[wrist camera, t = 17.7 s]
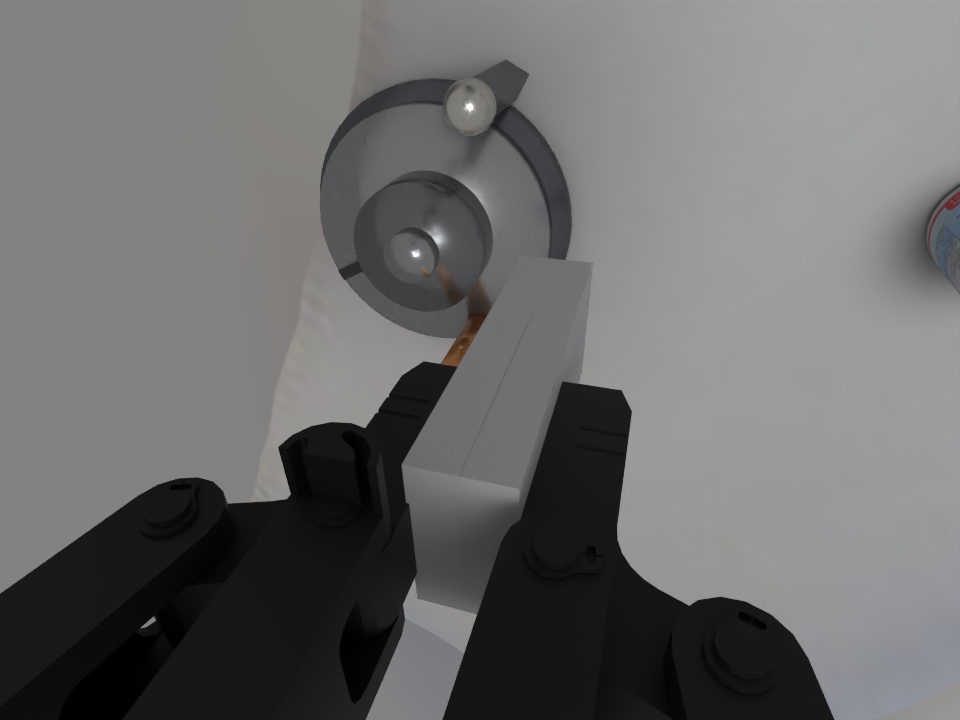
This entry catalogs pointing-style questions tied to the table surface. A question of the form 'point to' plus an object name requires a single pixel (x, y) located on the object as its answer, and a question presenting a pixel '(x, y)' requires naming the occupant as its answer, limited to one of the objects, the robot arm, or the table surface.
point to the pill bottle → (946, 237)
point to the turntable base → (506, 120)
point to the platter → (469, 159)
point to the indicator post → (482, 97)
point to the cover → (423, 240)
